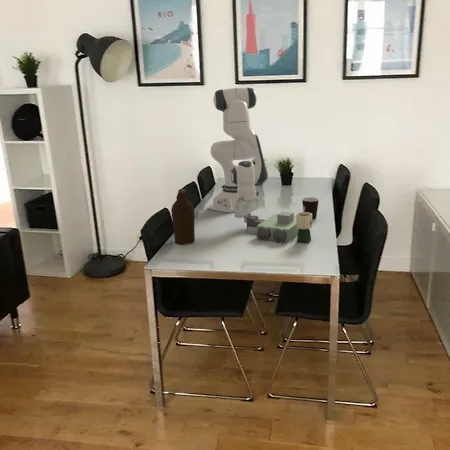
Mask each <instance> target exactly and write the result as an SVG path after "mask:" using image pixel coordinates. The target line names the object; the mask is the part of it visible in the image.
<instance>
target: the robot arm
mask: <svg viewBox="0 0 450 450" xmlns="http://www.w3.org/2000/svg"><path fill="white" fill-rule="evenodd" d="M212 98H213V100H212V101H213V105H214V107H215V109H216V110H217V111H221V112H222V120H223V121H222V122H223V123H222V126H223V128H222V129H223V132H224V133H225V134H226V135H227V136H230V137H231V138H232V139H233V140H220V141H216V142H213V143H212V144H211V147H210V150H209V151H210V155H211V157H212V159H214V161H216V162H218V163H219V165H220V166H221V168H222V172H223V174H224V175H223V176H224V184H222V185H221V187H220V188H221V189H222V191H220V192H219V193H218V194H216V196H214V198H213V200H212V204H210V205H209V207H208V209H209V210H212V211H218V212H224V213H234V217H235V218H239V219H241V218H243V222H244V223H246V224H247V218H248V217H249V216H251V215H252V213H253V212H254V211H256V210H258V209H259V206H260V205H259V204H260V191H259V190H256V185H263V184H264V183H266V182H267V180H268V176H269V175H268V170H267V167H266V163H265V160H264V155H263V151H262V148H261V147H262V146H261V143H260V139H259V136H258V134H257V132H255V131H254V130H253V129H252V127H251V119H250V112H249V110H250V109H253V108H254V107H255V106H256V105H257V104H256V103H257V100H258V97H257V93H256V90H254V88H252V87H233V88H226V89H222V88H221V89H218V90H216V91H215V92H214V95H213V97H212ZM250 159H254V162H255V164H254V163H253V162H252V161H250ZM234 161H239V162H238V163H237V165H236V164H235V163H234Z"/></svg>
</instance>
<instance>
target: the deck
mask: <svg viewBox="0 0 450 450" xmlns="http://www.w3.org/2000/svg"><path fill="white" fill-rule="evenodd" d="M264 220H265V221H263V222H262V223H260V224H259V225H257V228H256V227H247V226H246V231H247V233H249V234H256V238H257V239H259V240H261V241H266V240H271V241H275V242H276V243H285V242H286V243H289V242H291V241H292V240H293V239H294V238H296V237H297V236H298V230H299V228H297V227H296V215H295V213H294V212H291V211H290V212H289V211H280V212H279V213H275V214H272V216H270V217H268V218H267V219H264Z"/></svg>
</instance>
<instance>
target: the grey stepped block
mask: <svg viewBox="0 0 450 450" xmlns="http://www.w3.org/2000/svg"><path fill="white" fill-rule="evenodd" d="M265 220H266V219H261V218H259V216H258V215H252V214H251V216H249V217H248V218H247V223H246V228H247V227H256V228H257V225H259V224H260V223H262V222H263V221H265Z"/></svg>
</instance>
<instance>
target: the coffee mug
mask: <svg viewBox="0 0 450 450" xmlns="http://www.w3.org/2000/svg"><path fill="white" fill-rule="evenodd" d="M319 200H320V199H319V197H315V196H314V197H313V196H311V197H309V196H307V197H304V198H302V199H301V202H302V212H309V213H312V220H315V218H316V219H317V215H318V208H319Z"/></svg>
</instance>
